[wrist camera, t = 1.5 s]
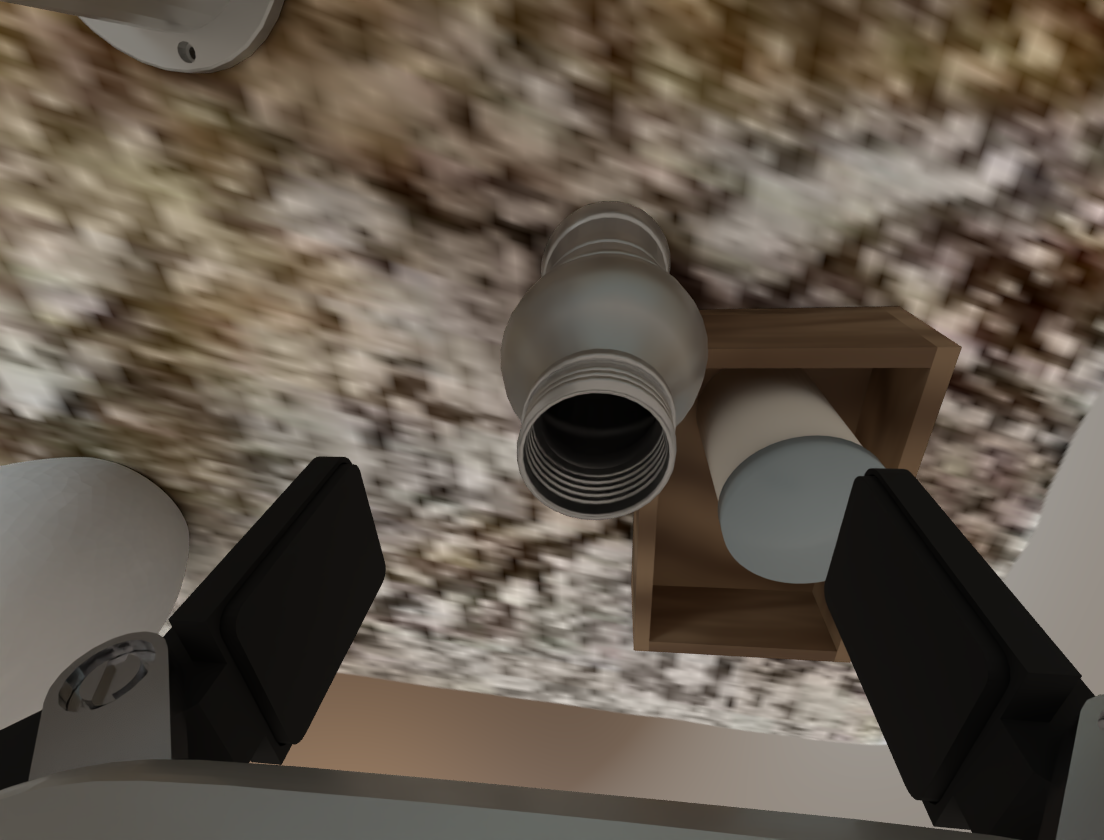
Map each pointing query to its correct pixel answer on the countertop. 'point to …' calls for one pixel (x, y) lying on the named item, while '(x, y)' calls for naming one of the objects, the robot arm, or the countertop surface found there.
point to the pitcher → (79, 568)
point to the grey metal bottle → (602, 364)
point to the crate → (690, 498)
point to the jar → (778, 469)
